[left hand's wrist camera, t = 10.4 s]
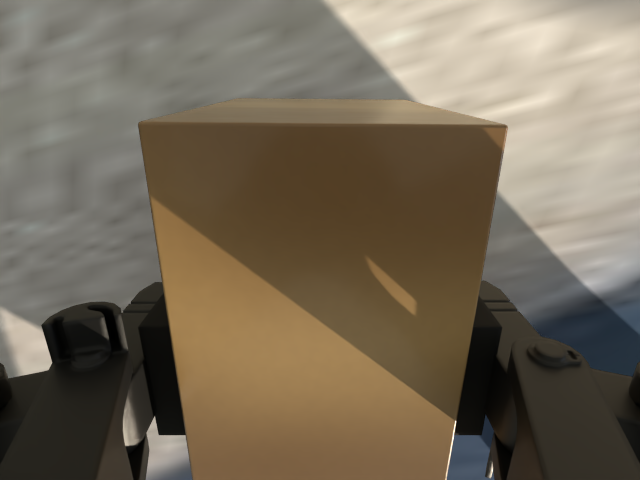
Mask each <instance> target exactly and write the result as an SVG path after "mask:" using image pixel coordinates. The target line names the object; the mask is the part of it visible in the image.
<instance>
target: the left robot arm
mask: <svg viewBox="0 0 640 480" xmlns="http://www.w3.org/2000/svg"><path fill="white" fill-rule="evenodd" d="M42 329H43V332H44V336H45V339H46V342H47V346H48V349H49V352H50V356H51V359H52V365H51V367H50V369H49V370H48V371H44V372H39V373H34V374H29V375H24V376H19V377H14V378H9V379H8V376H7V373H6V371H5V368H4V365H3V364H1V363H0V480H146V472H147V464H148V456H149V445H148V439H147V434H146V432H147V430H148V428H149V426H150V424H151V422H152V420H153V418H154V416H155V418H156V423H157V428H158V434H159V435H186V434H185V427H184V421H183V414H182V408H181V401H180V395H179V388H178V382H177V375H176V368H175V362H174V355H173V349H172V342H171V336H170V329H169V323H168V316H167V310H166V303H165V297H164V290H163V284H162V282H155V283H153V284H152V285H150V286H148V287H146V288H145V289H143V290H141V291H140V292H139V293H138V294H137V295H136V297H135V298H134V299H133V300H132V301H131V304H129V305H128V306H127V307H126V308H125V309H124V311H123V313H121V309H120V308H119V307H118V306H117V305H115V304H113V303H108V302H89V303H84V304H80V305H75V306H72V307H70V308H67V309H64V310H61V311H60V312H58V313H56V314H54V315H53V316H51V317H49V318H48V319H47V320H46V321H45V322H44V323H43V324H42ZM485 415H487V417H488V419H489V421H490V423H491V425H492V427H493V429H494V434H493V439H492V444H491V449H490V453H489V458H488V463H487V468H486V475H485V477H488V478H491V475H492V471H494V479H495V480H640V362H639V363H637V366H636V369H635V372H634V375H633V377H631V376H626V375H621V374H616V373H611V372H606V371H601V370H596V369H592V368H590V366H589V364H588V362H587V361H586V360H585V358H584V357H583V356H582V355H581V354H580V353H579V352H577V351H576V350H574V349H573V348H571V347H570V346H568V345H566V344H563V343H561V342H559V341H556V340H553V339H549V338H545V337H541V336H540V335H539V334H538V333H537V332H536V330H535V329H534V328H533V327H532V326H531V325H530V323H529V322H528V321H527V320H526V319H525V318H524V317H523V315H522V314H521V313H520V312H517V308H516V307H515V306H514V305H513V304H512V303H510V300H509V299H508V298H507V297H506V296H505V294H504V293H503V292H502V291H501V290H500V289H498V288H496V287H495V286H493V285H491V284H490V283H488V282H486V281H481V284H480V290H479V295H478V301H477V307H476V313H475V318H474V324H473V330H472V335H471V341H470V347H469V352H468V358H467V364H466V370H465V375H464V381H463V387H462V392H461V398H460V404H459V410H458V415H457V421H456V427H455V432H454V435H482V430H483V425H484V420H485Z"/></svg>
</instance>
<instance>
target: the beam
mask: <svg viewBox="0 0 640 480" xmlns="http://www.w3.org/2000/svg"><path fill="white" fill-rule="evenodd" d="M138 127H139V133H140V140H141V147H142V153H143V160H144V166H145V173H146V179H147V186H148V192H149V199H150V205H151V212H152V218H153V225H154V231H155V238H156V244H157V251H158V258H159V264H160V271H161V277H162V284H163V290H164V297H165V303H166V310H167V316H168V323H169V329H170V336H171V342H172V349H173V355H174V362H175V368H176V375H177V382H178V388H179V395H180V401H181V408H182V414H183V421H184V427H185V434H186V440H187V447H188V453H189V460H190V466H191V473H192V479H193V480H446V478H447V472H448V467H449V461H450V455H451V450H452V444H453V438H454V432H455V427H456V421H457V415H458V410H459V404H460V398H461V392H462V387H463V381H464V375H465V370H466V364H467V358H468V352H469V347H470V341H471V335H472V330H473V324H474V318H475V313H476V307H477V301H478V295H479V290H480V284H481V278H482V273H483V267H484V261H485V255H486V250H487V244H488V238H489V233H490V227H491V221H492V215H493V210H494V204H495V198H496V193H497V187H498V181H499V176H500V170H501V164H502V158H503V153H504V147H505V141H506V136H507V130H508V127H507V125H505V124H501V123H497V122H493V121H489V120H485V119H481V118H476V117H472V116H468V115H464V114H460V113H456V112H452V111H448V110H444V109H440V108H436V107H432V106H428V105H424V104H420V103H416V102H412V101H408V100H374V99H262V98H237V99H233V100H229V101H225V102H220V103H216V104H212V105H208V106H204V107H199V108H195V109H191V110H187V111H183V112H178V113H174V114H170V115H166V116H162V117H157V118H153V119H149V120H145V121H141V122H139V124H138Z"/></svg>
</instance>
